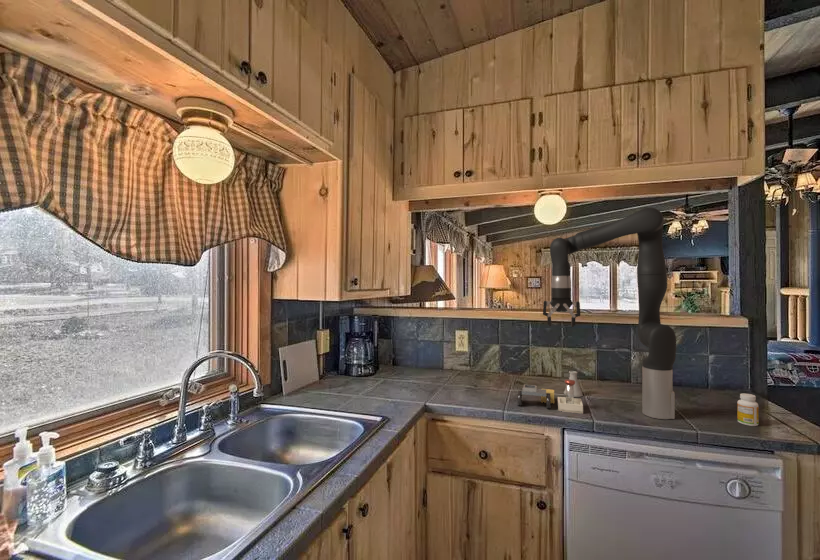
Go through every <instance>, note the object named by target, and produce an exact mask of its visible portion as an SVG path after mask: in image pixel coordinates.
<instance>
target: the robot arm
mask: <svg viewBox="0 0 820 560" xmlns="http://www.w3.org/2000/svg"><path fill="white" fill-rule="evenodd" d="M664 222H665V218H664V215H663V213H662V212H661V210H659V209H657V208H656V207H645V208H642V209H639V210H638V211H636V212H633V213H631V214H629V215H628V216H625V217H623V218H620V219H618V220H615V221H612V222H609V223H605V224H603V225H602V224H601V225H599V226H595V227H592V228H588V229H586V230H582V231H580V232H577V233H575V234H574V235H572V236H569V237H565V238H563V237H557V238H555V239H552V241H551V243H550V246H549V252H550V253H549V254H550V260H551V264H552V265H551V300H549V301H548V300H544V301H543V304H542V305H543V307H542V315H543V316H544V317H545V316H546V317H547V321H546V322H547V325H549V327H552V315H553V314H554V313H555V312H558V313H559V312H562V313H565V312H568V313H569V314H570V316H571V319H570V322H571V328H574V326H576V319H577V317H580V316H581V305H580V304H581V303H580V301H578V300H577V301H572V279H571V264H570V262H569V255H571V254H574V253H576V252H579V251H581V250H586V249H589V248H594V247H597V246H599V245H600V246H601V245H603V244H606V243H607V242H611V241H613V240H615V239H618V238H623V237H625V236H629V235H635V234H636V235H637V238H638V239H637V241H638V256H637V262H636V263H637V264H636V265H637V266H636V281H637V282H636V283H637V291H638V297H637V298H638V324H637V337H638V339H639V342H640V343H641V344H642V345H644V346H645V347H648V355H647V356H646V357H643V359H642V360H641V361H642V362H641V363H642V365H641V367H642V372H641V373H642V378H641V380H642V381H641V383H642V387H641V388H642V389H641V390H642V394H641V396H642V397H641V398H642V399H641V400H642V404H641V405H642V406H641V408H642V410H641V411H642V415H645V416H647V417H649V418H653V419H659V420H675V418H676V415H675V414H676V412H675V411H676V407H675V406H676V405H675V404H676V403H675V401H676V400H675V397H676V396H675V391H674V390H673V385H674V384H673V381H674V379H673V377H674V376H673V375H674V374H673V371H674V370H673V367H674V364H675V361H676V352H677V336H676V335H677V334H676V333H675V331H674V329H673V328H672V327H671V326H669V325H667V324H662V323H661V322H662V321H661V315H660V313H661V312H660V311H661V305H662V303H663V300H664V298H665V296H666V293H667V291H668V272H667V264H666V258H665V254H664V253H665V252H664V249H663V232H664V224H665V223H664ZM548 306H551V307H552V308H551V310H550V311H549V312H547V307H548ZM572 306H574V308H575V309H576V313H574V312H573V310H572V309H571V307H572Z"/></svg>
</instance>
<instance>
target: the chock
mask: <svg viewBox="0 0 820 560" xmlns="http://www.w3.org/2000/svg"><path fill="white" fill-rule="evenodd" d="M544 389H545V390H546V393H550V399H551V404H552V403H553V405H554V404H555V389H549V388H548V389H547V388H544ZM543 402H544V404H546V397H545V396H540V403H543Z"/></svg>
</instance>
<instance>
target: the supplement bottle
mask: <svg viewBox="0 0 820 560" xmlns="http://www.w3.org/2000/svg"><path fill="white" fill-rule="evenodd" d="M739 398H740V399H738V400H737V402H736V403H737V414H736V415H737V417H736V418H737V423H740V424H742V425H746V426H751V427H756V426H757V427H758V426H759V423H760V422H759V403H758V402H757V401H756V398H757V397H756V395H755V394H751V393H739Z"/></svg>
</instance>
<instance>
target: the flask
mask: <svg viewBox="0 0 820 560" xmlns="http://www.w3.org/2000/svg"><path fill="white" fill-rule="evenodd" d="M568 373H569V378H568V379H570V380H574V381H575V384H574V398H580V397H583V396H584V395H583V391H582V389H581V387H580V384H579V381H578V371H576V370H575V371H574V370H569V371H568ZM563 394H564V395H565V396H566V388H564V391H563Z"/></svg>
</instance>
